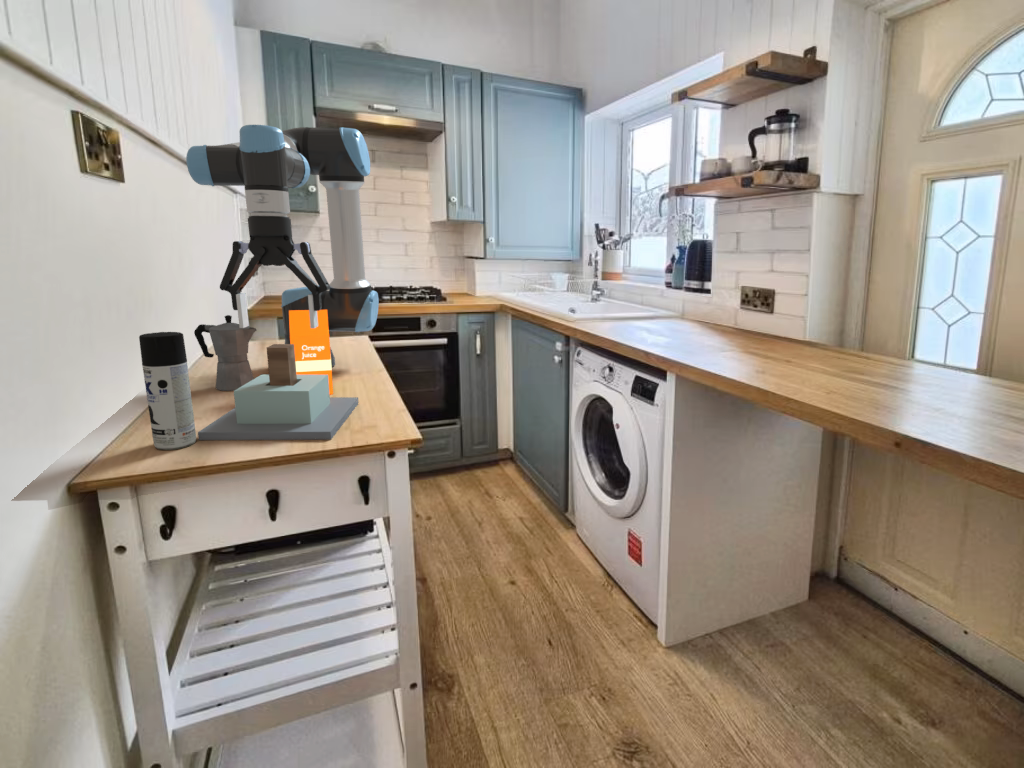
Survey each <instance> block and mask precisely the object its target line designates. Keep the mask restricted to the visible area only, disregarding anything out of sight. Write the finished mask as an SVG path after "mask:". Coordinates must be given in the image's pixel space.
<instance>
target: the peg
mask: <svg viewBox="0 0 1024 768" xmlns="http://www.w3.org/2000/svg"><path fill="white" fill-rule="evenodd" d="M266 356H267V367H268V374H269V379H270V386H294V385H295V384H296V383H297V375H296V362H295V350H294V344H285V343H273V344H272V345H271V344H270V345H269V346H267V347H266Z"/></svg>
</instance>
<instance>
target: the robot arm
mask: <svg viewBox="0 0 1024 768" xmlns="http://www.w3.org/2000/svg"><path fill="white" fill-rule="evenodd" d="M185 159H186V160H185V161H186V166H187V170H188V171H187V172H188V174H189V175H190V178H191V179H192V181H194V182H195V183H196V184H198V185H201V186H211V187H215V186H217V187H218V186H219V187H221V186H223V187H226V186H227V187H228V186H229V187H232V186H237V187H239V186H240V187H244V196H245V205H246V212H247V213H248V214H250V215H249V216H248V217H247V225H248V226H247V227H248V235H249V242H243V241H241V240H235V241H233V242H232V254H231V255H230V256H231V257H230V259H229V261H228V264H227V266H226V269H225V271H224V274H223V277H222V279H221V282H220V284H219V289H220V290H221V291H225V292H227V293H229V294H230V295H231V296H230V297H231V305H232V306H231V307H232V309H233V311H237V315H238V316H237V318H238V324H239V327H240V328H245V327H247V326H249V327H250V322H249V314H248V313H249V312H248V304H247V295H246V293H245V292H243V290H244V288H245V287H246V285H247V284H248V282H249V281H250V280H251V279H252V277H254V275H255V274H256V272H257V271H258V270H259V268H260V267H262V266H264V267H266V266H267V267H268V266H274V267H282V266H285V267H287V268H288V269H289V270H290V271H291V272H292V273H293V274H294V275H295V276H296V278H298V279H299V281H301V283H302V284H303V285H304V286H303V287H302V286H301V287H294V288H289V289H286V290H284V291H283V292H282V293H281V306H280V307H281V313H282V323H283V334H284V344H290V325H289V311H291V310H309V315H310V328H316V327H318V316H317V311H320V310H327V314H328V329H329V332H355V333H360V332H369V331H370V332H371V331H372V329H374V328H375V326H376V323H377V319H378V315H379V314H378V313H379V304H380V303H379V300H380V299H379V293H378V292H377V291H376V290H373V289H372V283H371V282H370V281H369V280H368V279H367V278H366V272H365V270H366V269H365V255H364V240H363V229H362V226H363V225H362V215H361V213H362V210H361V198H360V189H361V187H363V185H365V177H368V176H369V175H370V174H371V159H370V154H369V148H368V145H367V142H366V140H365V138H364V135H363V134H362V133H361V131H359V129H356V128H352V127H343V126H342V127H341V126H340V127H313V126H312V127H308V126H306V127H305V126H303V127H302V126H300V127H294V128H293V127H292V128H289V129H284V130H282V129H280V128H278V127H276V126H272V125H266V124H246V125H243V126H241V127H240V128H239V142H234V143H233V142H232V143H228V144H227V143H226V144H225V143H224V144H219V145H218V144H217V145H207V144H203V145H193V146H191V147H190V148H189V149H188V151H187V153H186V158H185ZM310 176H318V179H319V181H318V182H319V183H320V184H321V186H323V187H324V188H325V192H326V193H325V194H326V202H327V204H326V205H327V214H328V215H327V216H328V226H329V227H328V228H329V237H330V238H329V239H330V250H331V259H332V260H331V261H332V273H333V279H332V281H331V282H330V283H329V281H328V280H327V278H326V276H325V275H324V272H323V270H321V268H320V266H319V264H318V262H317V261H316V259H315V257H314V255H313V253H312V249H311V248H312V247H311V244H310V242H308V241H301V242H300V243H295V242H294V241H293V230H292V219H291V218H290V217H289V216H288V215H289V214H291V208H290V205H291V204H290V195H289V189H299V188H301V187H303V186H304V185H305V184H306V183H308V181H309V179H310ZM248 251H249V252H250V253H251V254H252V255H253V256H252V258H250V260H249V262H248V264H247V266H246V267H245V268H244V270H243V271H242V273H241V274H240V275H239V276H238V277H237V274H238V271H239V269H240V266H241V264H242V261H243V260H244V259H243V258H244V257H245V256H244V255H245V254H246V253H247V252H248ZM295 251H297V252H298V254H299V255H301V256H302V259H303V260H304V262H305V264H306V265H307V268H308V269H309V271H310V272H311V275H312V276H313V278H314V280H315V281H316V282H315V281H314V280H313V278H312V277H311V276H310V275H309V274H308V273H307V272H306V271H305V270H304V269H303V267H302V266H300V264H299V262H298V261H297V260H296V259H295V257H293V254H294V253H295ZM236 277H237V279H236ZM235 279H236V280H235ZM330 354H331V366H332V368H333V367H335V366H336V357H335V355H334V353H333V349H332V348H331V346H330ZM334 365H335V366H334Z"/></svg>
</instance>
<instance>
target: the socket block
mask: <svg viewBox="0 0 1024 768" xmlns="http://www.w3.org/2000/svg"><path fill="white" fill-rule="evenodd" d="M296 375H297V383H296V384H295V385H294V386H270V379H269V373H267V374H264V373H263V374H259V376H257V377H255V378H254V379H253V380H251V381H250V382H248V383H246V384H245V385H243V386H241V387H240V388H238V389H236V390H235V391H233V396H234V408H232V409H231V410H229V411H227V412H226V413H224V414H223V415H222V416H220V417H218V418H217V419H216V420H214V421H212V422H211V423H210V424H209V425H207V426H205V427H204V428H202V429H201V430H199V431H198V432H197V439H198V440H199V441H252V440H254V441H255V440H256V441H260V440H261V441H262V440H263V441H267V440H268V441H269V440H270V441H271V440H272V441H275V440H276V441H277V440H278V441H280V440H282V441H283V440H284V441H285V440H286V441H287V440H292V441H293V440H295V441H296V440H310V441H311V440H332V439H333V438H334V437H335V435H336V434H337V432H339V430H340V429H341V427H342V426H343V425H344V423H345V422H346V421H347V420H348V418H349V417H350V416H351V415H352V413H353V412H354V411H355V409H356V408H357V407H358V405H359V404H358V403H359V402H360V401H359V397H343V396H341V397H331V394H329V380H328V375H310V374H296ZM355 407H356V408H355ZM352 411H353V412H352ZM349 415H350V416H349Z"/></svg>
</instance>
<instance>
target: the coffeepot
mask: <svg viewBox="0 0 1024 768" xmlns="http://www.w3.org/2000/svg"><path fill="white" fill-rule="evenodd" d="M232 318H233V316H232V315H229V314H227V315H225V316H224V320H225V323H221V324H217V325H214V324H202V323H201V324H198V326H197V327H196V328H195V329H194V336H195V338H196V340H197V342H198V345H199V347H200V349H201V351H202V353H203V356H204V357H205V358H213V357H214V356H217V363H216V376H215V377H216V379H215V389H216V390H217V391H224V392H234V391H235V390H236V389H238V388H240V387H241V386H243V385H245V384H246V383H248V382H250V381H251V380H253V379H255V378H254V375H253V371H252V368H251V364H250V361H249V359H248V354H249V344H250V342H251V341H250V340H251V339H252V337H253V335H254V333H255V332H257V329H256V327H252V326H250V325H249V326H247V327H245V328H240V327H239V323H238V322H237V323H236V322H232ZM203 333H207V334H208V333H209V335H210V340H211V343H212V347H213V350H214V353H215V354H214V353H210V352H209V348H208V345H207V343H206V342H205V338H204V336H203Z"/></svg>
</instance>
